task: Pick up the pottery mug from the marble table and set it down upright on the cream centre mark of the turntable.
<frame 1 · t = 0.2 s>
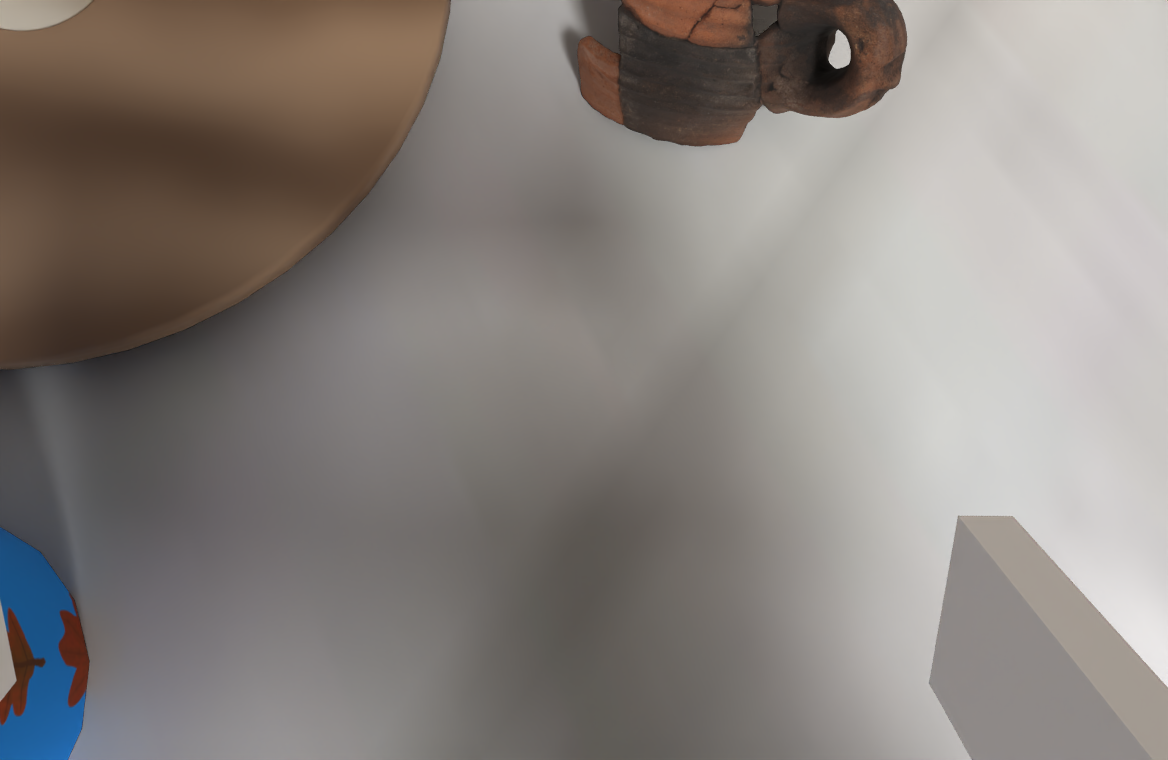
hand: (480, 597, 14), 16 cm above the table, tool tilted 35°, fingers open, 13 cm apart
pottery mug: (721, 44, 34), on the table
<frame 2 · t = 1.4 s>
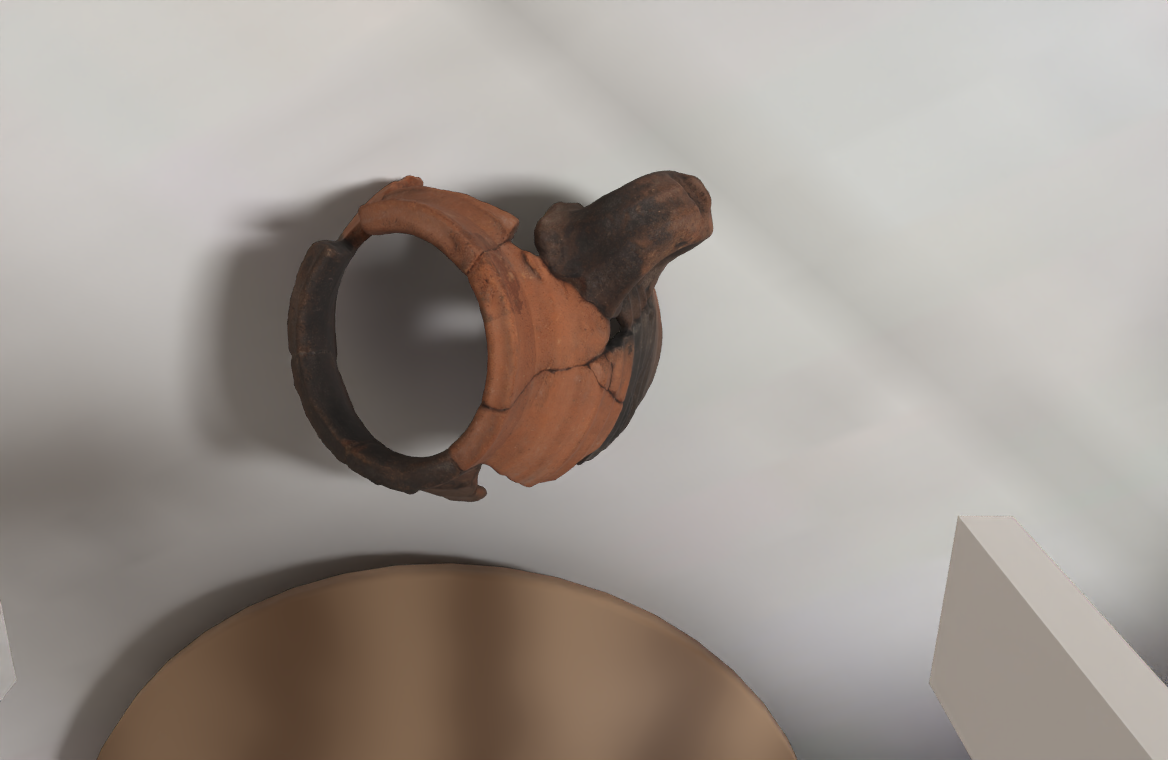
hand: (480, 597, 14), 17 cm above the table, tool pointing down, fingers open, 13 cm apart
pottery mug: (527, 288, 31), on the table
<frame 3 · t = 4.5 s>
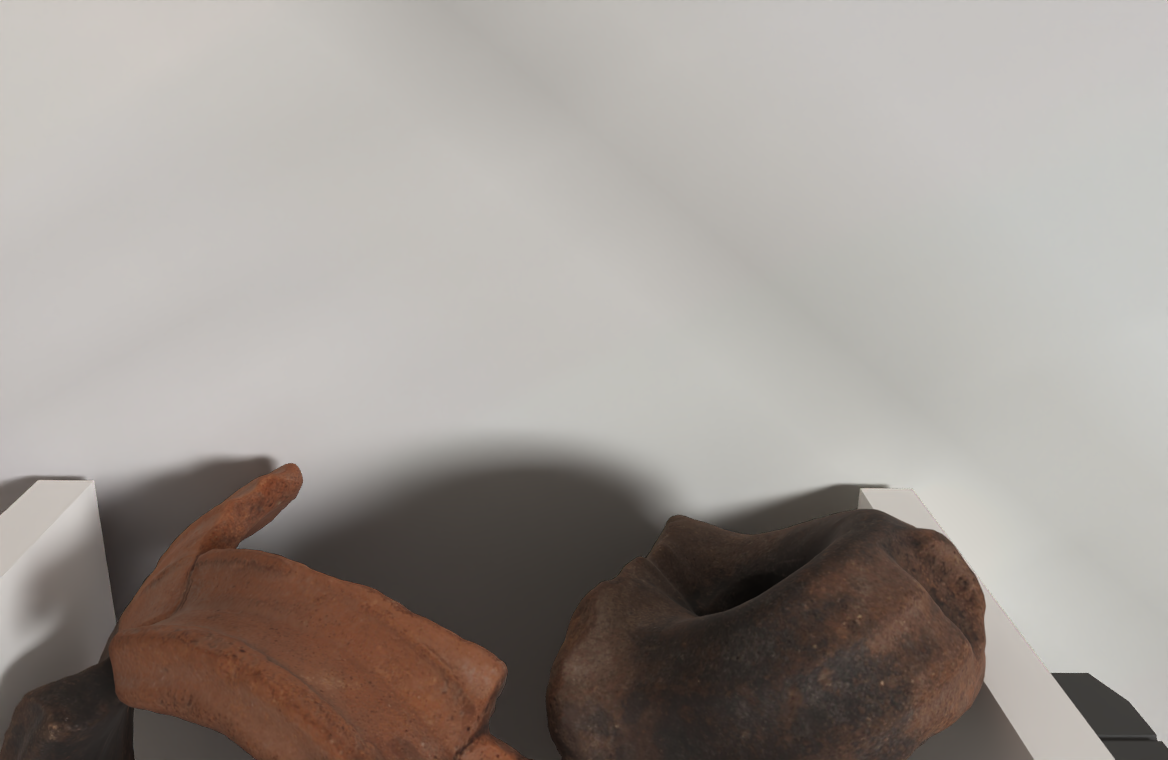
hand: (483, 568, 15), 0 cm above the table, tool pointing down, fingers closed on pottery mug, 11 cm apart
pottery mug: (529, 635, 16), on the table, touching gripper
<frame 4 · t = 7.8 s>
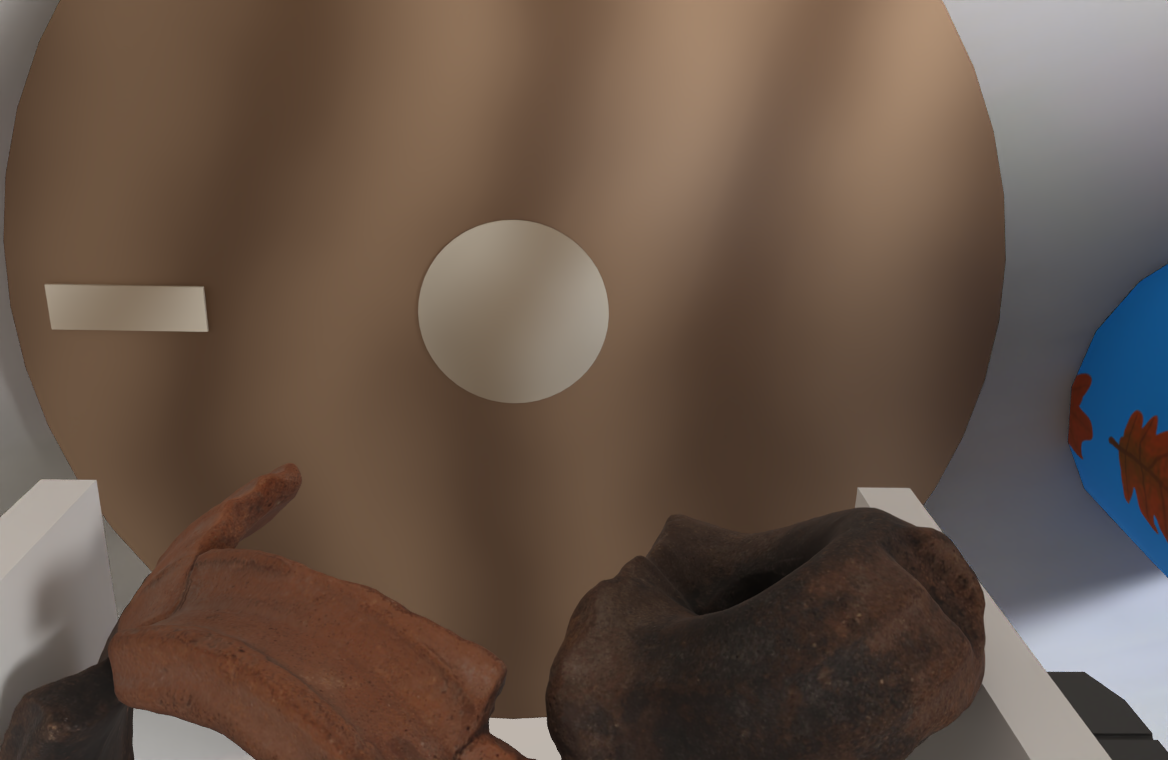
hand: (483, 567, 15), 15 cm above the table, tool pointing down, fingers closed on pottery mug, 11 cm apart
turntable: (514, 308, 27), point 2 cm above the table, hinge at 0.0°
pottery mug: (528, 635, 16), point 15 cm above the table, touching gripper
when the fingers open (4 cm above the table, at t = 10.8 s): pottery mug stays where it is, resting on turntable.
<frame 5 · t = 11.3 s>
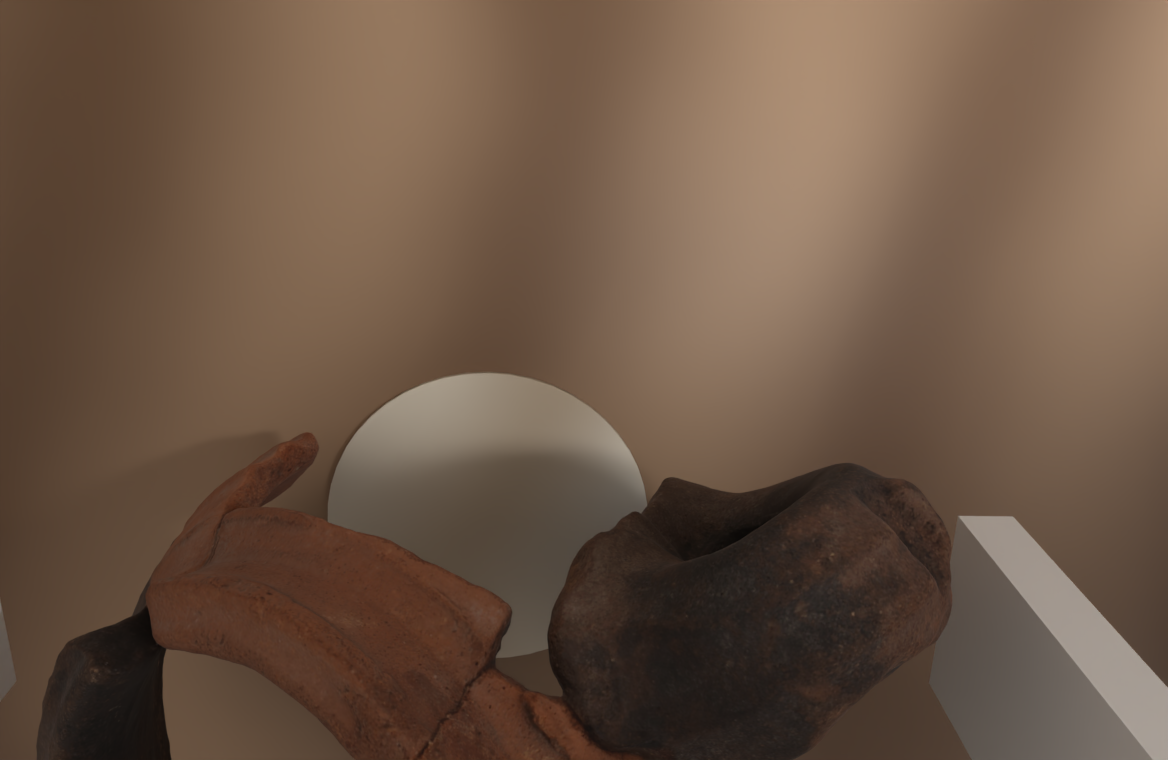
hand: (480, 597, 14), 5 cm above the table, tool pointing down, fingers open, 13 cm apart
turntable: (490, 507, 16), point 2 cm above the table, hinge at 0.0°, touching pottery mug
pottery mug: (533, 596, 17), point 2 cm above the table, touching turntable
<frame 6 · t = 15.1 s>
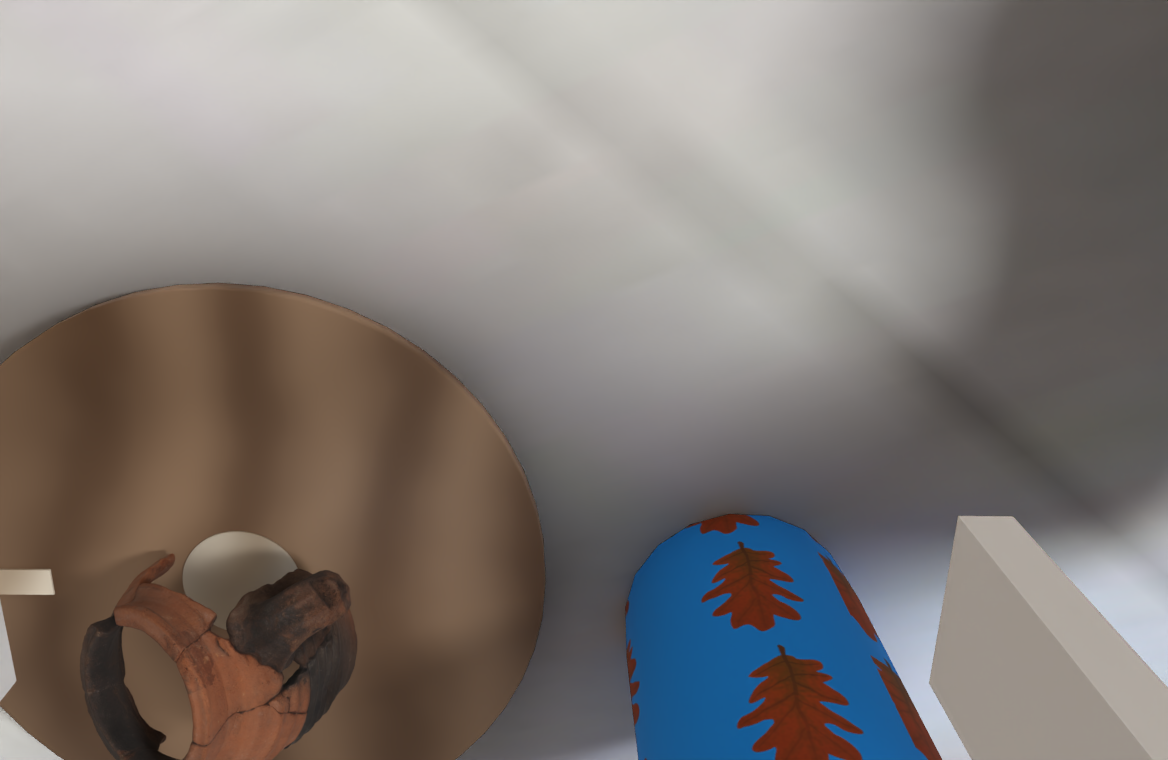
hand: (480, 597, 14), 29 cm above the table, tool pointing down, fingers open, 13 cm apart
thermos: (734, 609, 48), on the table
turntable: (245, 576, 44), point 2 cm above the table, hinge at 0.0°, touching pottery mug
pottery mug: (262, 609, 44), point 2 cm above the table, touching turntable
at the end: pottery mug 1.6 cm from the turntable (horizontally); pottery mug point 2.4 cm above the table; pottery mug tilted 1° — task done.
